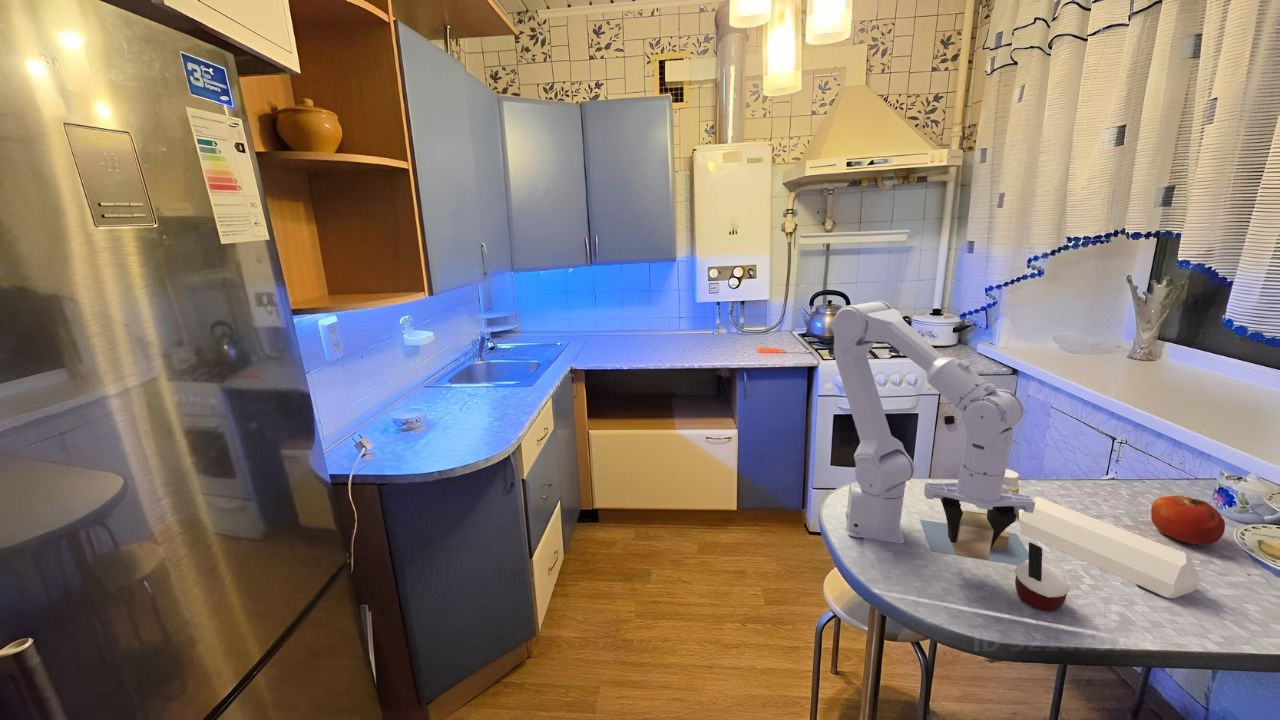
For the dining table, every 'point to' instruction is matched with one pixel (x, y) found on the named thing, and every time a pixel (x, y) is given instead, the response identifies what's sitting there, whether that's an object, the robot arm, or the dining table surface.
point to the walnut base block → (1001, 540)
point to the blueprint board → (1013, 555)
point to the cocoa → (1040, 582)
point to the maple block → (973, 536)
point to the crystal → (1111, 549)
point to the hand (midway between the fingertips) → (969, 541)
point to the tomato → (1187, 519)
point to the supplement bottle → (1011, 481)
